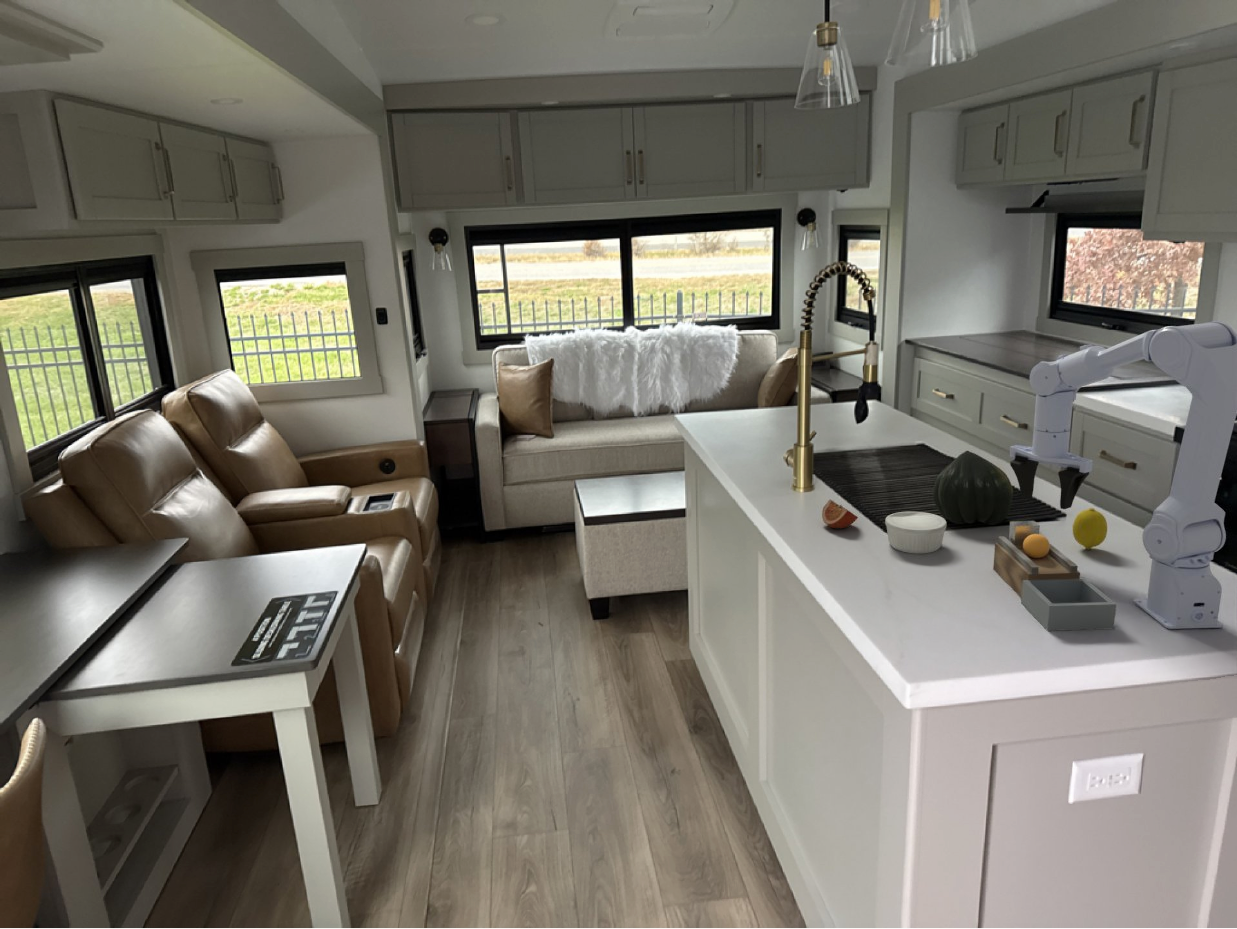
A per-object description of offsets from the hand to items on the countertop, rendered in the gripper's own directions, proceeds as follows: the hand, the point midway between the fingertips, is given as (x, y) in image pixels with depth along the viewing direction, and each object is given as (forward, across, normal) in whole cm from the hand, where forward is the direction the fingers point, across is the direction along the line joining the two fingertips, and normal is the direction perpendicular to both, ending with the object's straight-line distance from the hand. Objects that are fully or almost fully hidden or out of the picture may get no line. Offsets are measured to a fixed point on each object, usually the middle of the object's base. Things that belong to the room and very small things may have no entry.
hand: (1045, 502), depth 149 cm
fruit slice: (+11, +34, +17) cm, 39 cm away
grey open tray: (+10, -17, +18) cm, 27 cm away
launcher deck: (+10, -7, +12) cm, 17 cm away
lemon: (+10, -3, -9) cm, 14 cm away
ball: (+3, -7, +12) cm, 14 cm away
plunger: (+5, -3, +10) cm, 11 cm away
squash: (+10, +20, -6) cm, 24 cm away
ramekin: (+11, +17, +14) cm, 24 cm away
